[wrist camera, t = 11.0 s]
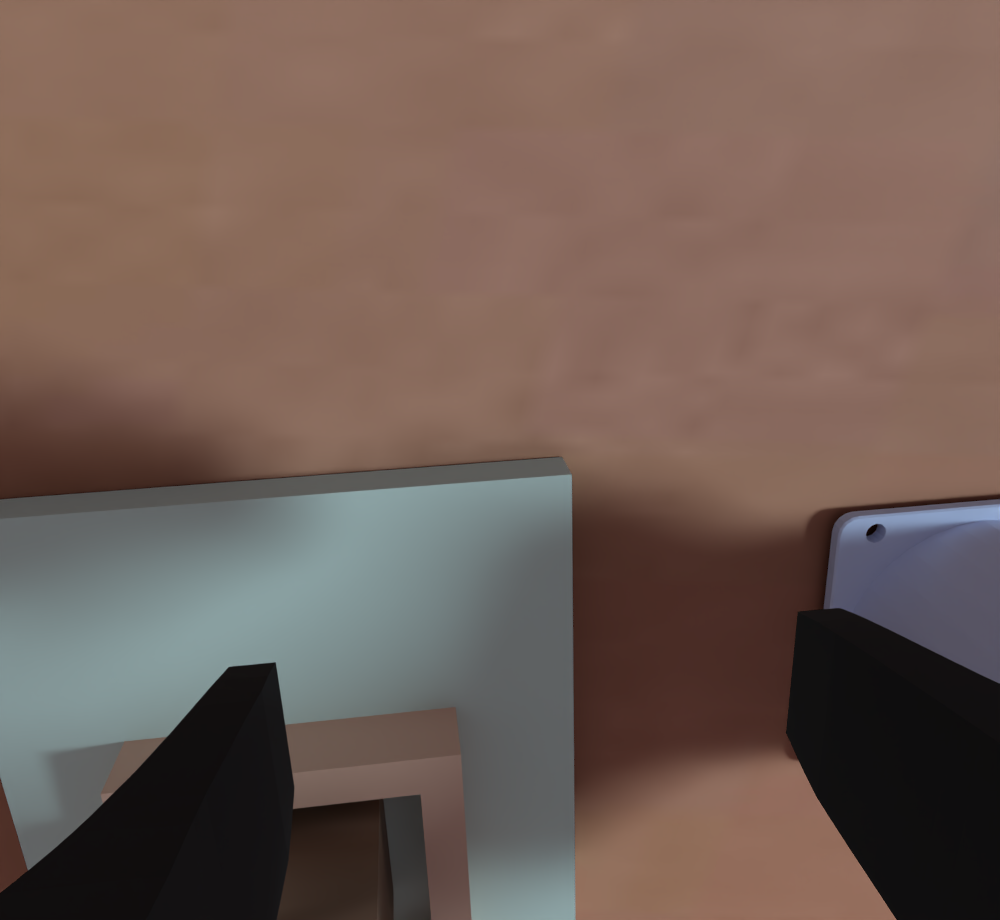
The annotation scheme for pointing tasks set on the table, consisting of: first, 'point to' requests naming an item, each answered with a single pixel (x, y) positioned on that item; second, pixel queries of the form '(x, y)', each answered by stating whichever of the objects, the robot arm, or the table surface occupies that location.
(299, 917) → the spigot block
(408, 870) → the dock board
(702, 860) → the table surface
